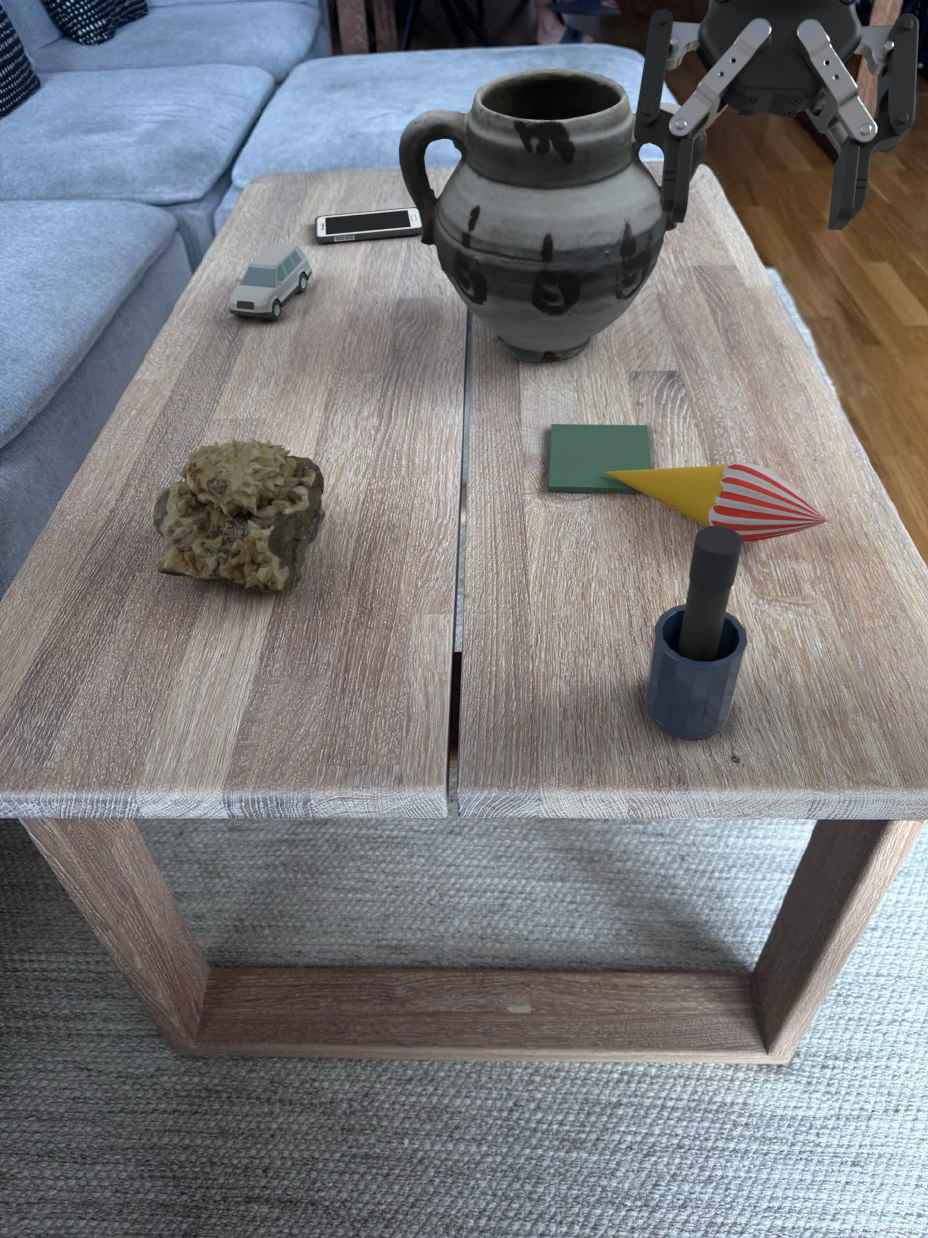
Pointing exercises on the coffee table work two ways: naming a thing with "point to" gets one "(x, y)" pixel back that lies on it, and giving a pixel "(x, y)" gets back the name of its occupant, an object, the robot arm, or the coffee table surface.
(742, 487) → the ice cream cone
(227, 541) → the mineral specimen
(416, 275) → the coffee table surface
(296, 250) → the toy car
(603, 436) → the felt pad
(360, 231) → the cell phone
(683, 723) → the pen cup
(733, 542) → the cylinder
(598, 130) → the ceramic pot
